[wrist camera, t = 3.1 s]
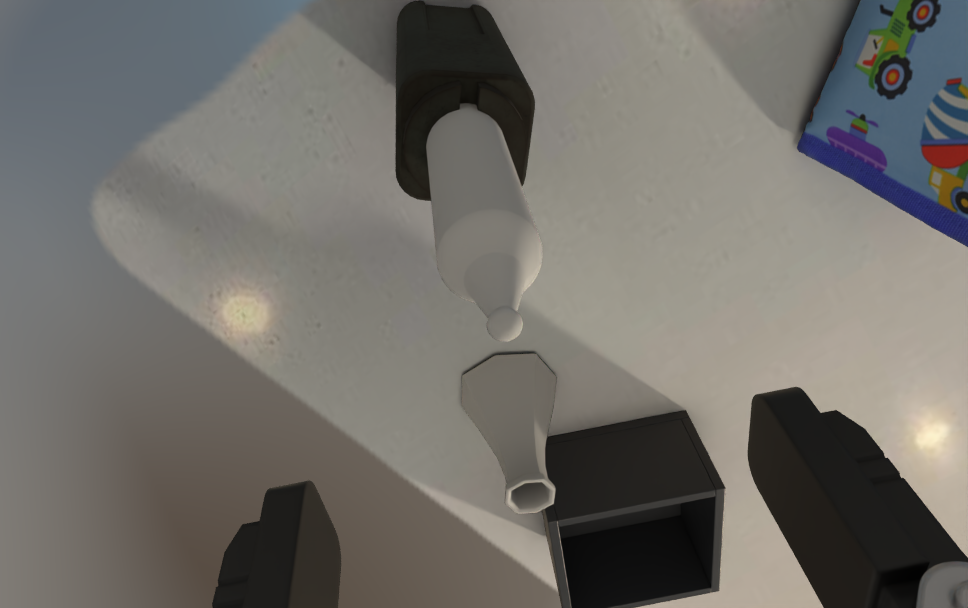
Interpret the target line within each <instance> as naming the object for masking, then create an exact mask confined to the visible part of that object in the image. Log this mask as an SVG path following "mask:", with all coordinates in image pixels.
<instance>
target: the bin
mask: <svg viewBox="0 0 968 608" xmlns="http://www.w3.org/2000/svg"><path fill="white" fill-rule="evenodd" d="M545 467H546V471H547V476H548V479H549V480H550V481H551V482H552V483H553V484H554V486H555V498H554V504H552V505H550V506H548V507H546V508H545V509H543V510H542V513H543V519H544V524H545V530H546V536H547V541H548V545H549V550H550V555H551V559H552V564H553V569H554V573H555V578H556V582H557V587H558V592H559V596H560V601H561V606H562V608H635V607H640V606H645V605H650V604H655V603H660V602H666V601H671V600H676V599H681V598H686V597H691V596H697V595H702V594H707V593H711V592H717V591H719V589H720V572H721V555H722V538H723V521H724V504H725V486H724V484H723V482H722V480H721V478H720V476H719V474H718V472H717V470H716V468H715V467H714V465H713V463H712V461H711V459H710V457H709V455H708V453H707V451H706V449H705V447H704V445H703V443H702V441H701V439H700V437H699V435H698V433H697V431H696V429H695V427H694V425H693V423H692V421H691V419H690V418H689V415H688V413H687V411H680V412H675V413H670V414H665V415H660V416H655V417H650V418H644V419H639V420H634V421H629V422H624V423H619V424H614V425H609V426H604V427H598V428H593V429H588V430H583V431H578V432H573V433H568V434H563V435H558V436H552V437H547V440H546V446H545Z"/></svg>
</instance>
